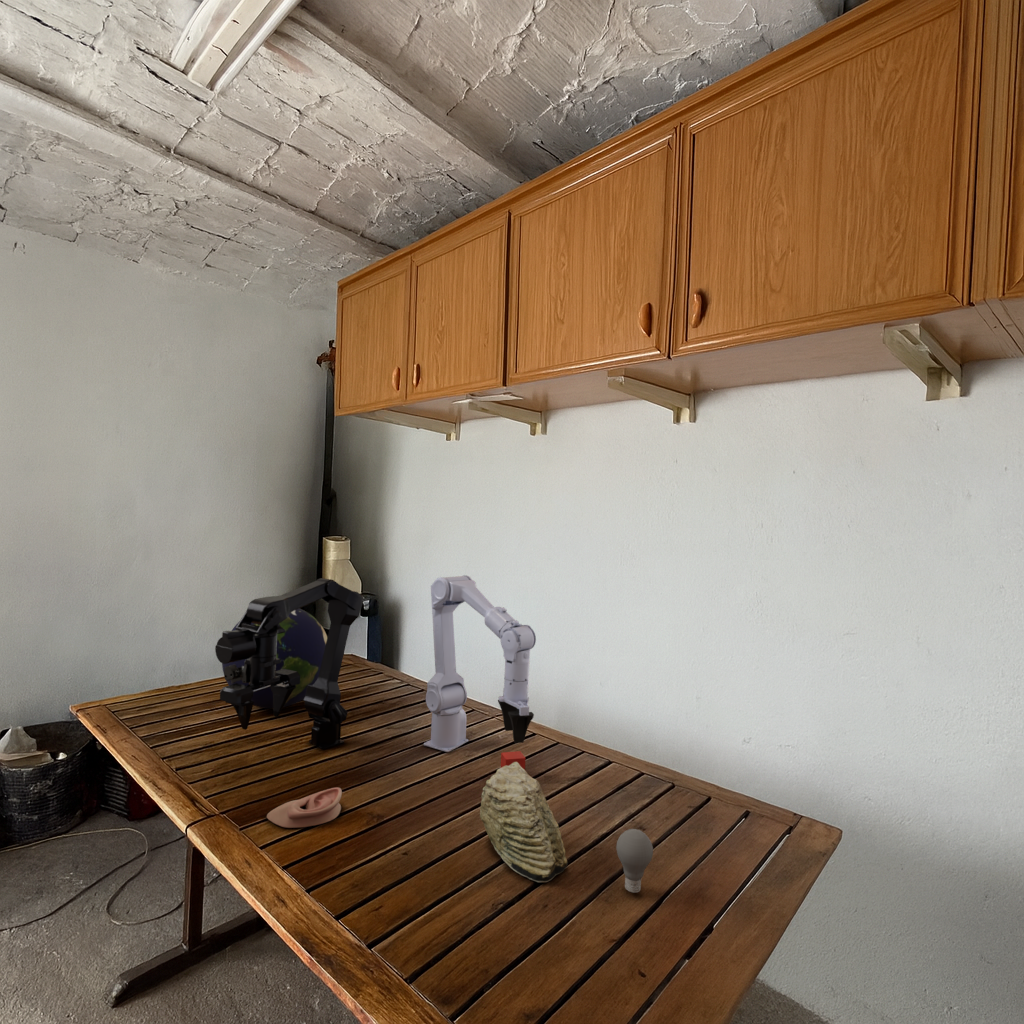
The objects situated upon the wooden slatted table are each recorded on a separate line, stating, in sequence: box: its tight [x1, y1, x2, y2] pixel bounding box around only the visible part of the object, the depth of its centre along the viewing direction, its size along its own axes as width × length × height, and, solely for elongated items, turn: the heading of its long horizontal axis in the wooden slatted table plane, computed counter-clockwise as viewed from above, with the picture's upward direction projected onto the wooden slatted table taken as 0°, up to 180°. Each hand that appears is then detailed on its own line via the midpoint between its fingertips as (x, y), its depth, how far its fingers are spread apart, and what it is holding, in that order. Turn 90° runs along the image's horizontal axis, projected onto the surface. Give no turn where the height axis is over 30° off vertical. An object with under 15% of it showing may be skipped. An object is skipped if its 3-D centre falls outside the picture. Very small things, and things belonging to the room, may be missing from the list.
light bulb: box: [615, 828, 654, 894], centre depth 106 cm, size 6×6×10 cm
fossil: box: [479, 762, 569, 883], centre depth 114 cm, size 9×18×15 cm, turn 46°
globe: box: [221, 608, 328, 710], centre depth 188 cm, size 30×30×30 cm
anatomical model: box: [266, 786, 343, 829], centre depth 126 cm, size 13×4×12 cm
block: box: [500, 750, 526, 771], centre depth 148 cm, size 4×5×5 cm
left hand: (260, 722), depth 145 cm, fingers open, 9 cm apart
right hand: (514, 736), depth 148 cm, fingers open, 7 cm apart
